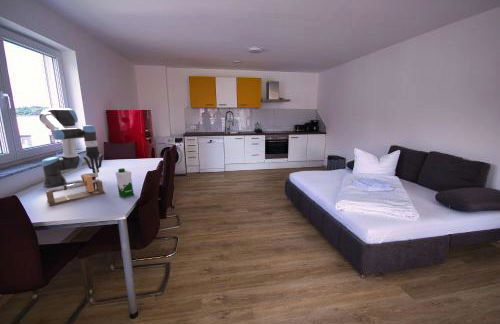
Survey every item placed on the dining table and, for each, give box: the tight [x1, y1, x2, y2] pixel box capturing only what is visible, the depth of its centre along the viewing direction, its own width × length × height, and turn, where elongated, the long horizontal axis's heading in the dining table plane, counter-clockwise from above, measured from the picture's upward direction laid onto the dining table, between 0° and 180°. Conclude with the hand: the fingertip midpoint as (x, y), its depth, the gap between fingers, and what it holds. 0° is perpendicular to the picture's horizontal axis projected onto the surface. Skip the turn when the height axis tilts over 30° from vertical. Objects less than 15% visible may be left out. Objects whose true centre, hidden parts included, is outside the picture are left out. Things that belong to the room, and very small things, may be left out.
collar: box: [82, 173, 94, 192], centre depth 170 cm, size 11×3×11 cm, turn 48°
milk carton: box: [115, 168, 135, 199], centre depth 166 cm, size 9×9×20 cm
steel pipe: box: [48, 178, 100, 193], centre depth 164 cm, size 4×29×4 cm, turn 138°
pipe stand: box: [45, 179, 106, 207], centre depth 165 cm, size 12×32×9 cm, turn 138°
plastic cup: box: [80, 172, 96, 189], centre depth 183 cm, size 11×11×12 cm
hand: (96, 177), depth 173 cm, fingers closed
